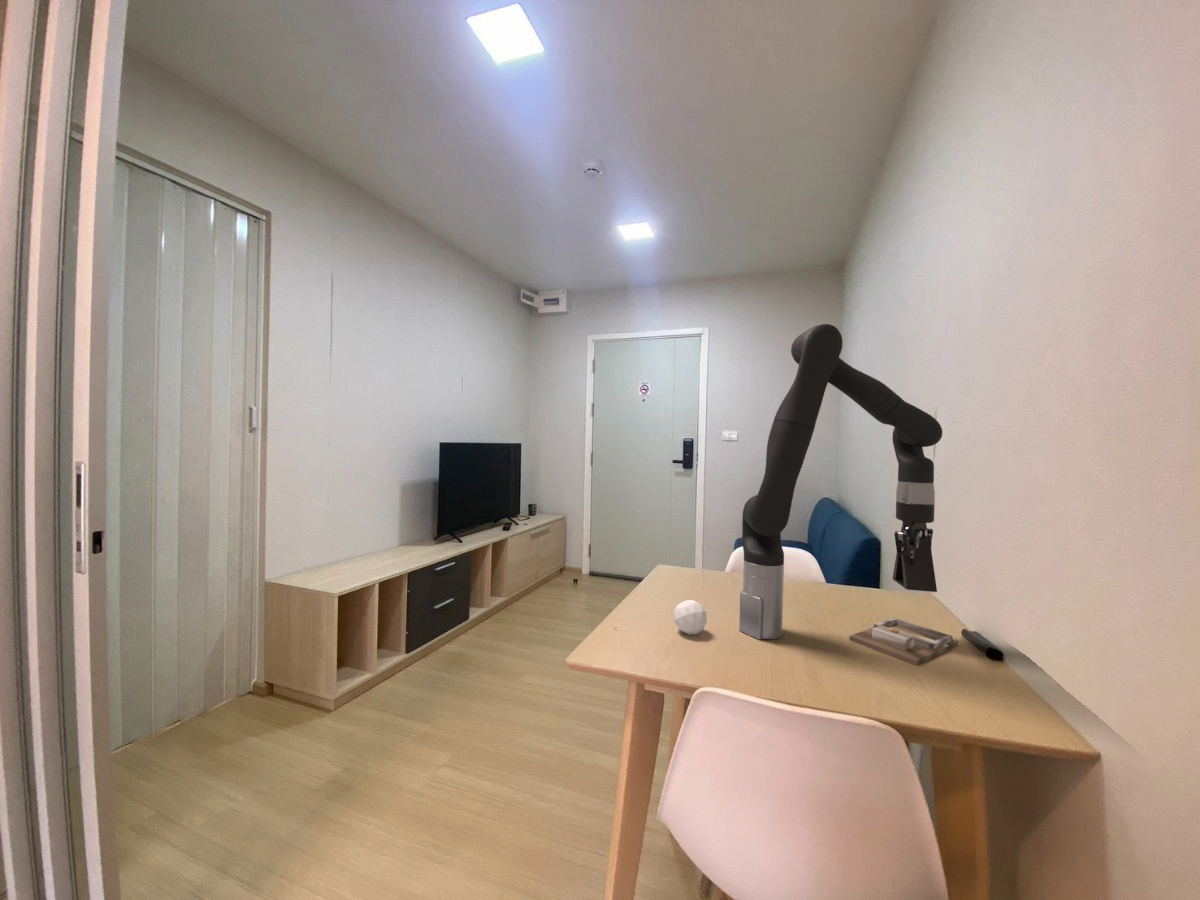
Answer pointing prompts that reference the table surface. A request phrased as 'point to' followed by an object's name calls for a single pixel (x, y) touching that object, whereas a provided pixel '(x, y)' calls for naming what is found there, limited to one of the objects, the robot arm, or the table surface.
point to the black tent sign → (917, 569)
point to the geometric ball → (690, 617)
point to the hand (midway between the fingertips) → (913, 572)
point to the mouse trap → (905, 640)
